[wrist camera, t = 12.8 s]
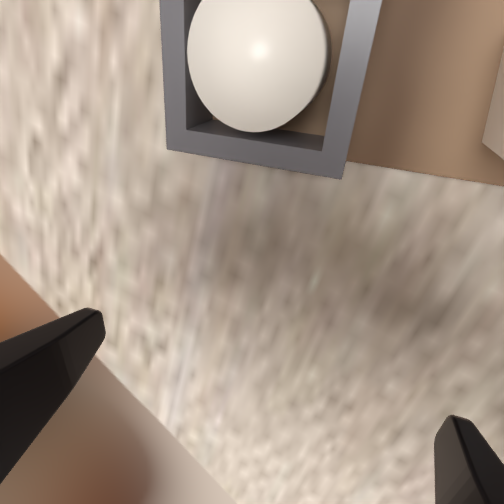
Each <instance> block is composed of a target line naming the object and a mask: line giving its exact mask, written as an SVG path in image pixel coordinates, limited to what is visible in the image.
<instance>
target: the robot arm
mask: <svg viewBox="0 0 504 504" xmlns="http://www.w3.org/2000/svg"><path fill="white" fill-rule="evenodd" d="M105 334H106V331H105V326H104V321H103V316H102V313H101V312H100V311H99V310H95V309H92V308H84V309H81V310H79V311H76V312H74V313H71V314H69V315H66V316H64V317H61V318H59V319H57V320H54V321H52V322H49V323H47V324H44V325H42V326H39V327H37V328H35V329H32V330H30V331H27V332H25V333H22V334H20V335H17V336H15V337H13V338H10V339H8V340H5V341H3V342H0V484H1V483H2V481H3V480H4V479H5V477H6V476H7V475H8V473H9V472H10V471H11V469H12V468H13V467H14V466H15V464H16V463H17V462H18V460H19V459H20V458H21V456H22V455H23V454H24V452H25V451H26V450H27V449H28V447H29V446H30V445H31V443H32V442H33V441H34V439H35V438H36V437H37V435H38V434H39V432H41V430H42V429H43V428H44V426H45V425H46V424H47V422H48V421H49V420H50V418H51V417H52V416H53V414H54V413H55V412H56V411H57V409H58V408H59V407H60V405H61V404H62V403H63V402H64V400H65V399H66V398H67V396H68V395H69V394H70V392H71V391H72V389H73V388H74V387H75V385H76V384H77V382H78V381H79V379H80V377H81V376H82V374H83V373H84V371H85V369H86V368H87V366H88V365H89V363H90V361H91V360H92V358H93V357H94V355H95V353H96V352H97V350H98V349H99V347H100V345H101V344H102V342H103V340H104V338H105ZM434 462H435V504H504V464H503V463H502V462H501V460H500V459H499V458H498V456H497V455H496V454H495V452H494V451H493V449H492V448H491V447H490V445H489V444H488V443H487V441H486V440H485V439H484V437H483V436H482V435H481V433H480V432H479V430H478V429H477V428H476V426H475V425H474V424H473V423H472V422H471V421H470V420H468V419H465V418H462V417H459V416H455V415H450V416H448V417H447V418H446V420H445V421H444V423H443V425H442V426H441V428H440V429H439V431H438V432H437V434H436V436H435V441H434Z"/></svg>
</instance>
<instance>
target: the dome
mask: <svg viewBox="0 0 504 504" xmlns="http://www.w3.org/2000/svg"><path fill="white" fill-rule="evenodd" d="M187 56H188V66H189V72H190V75H191V79H192V82H193V85H194V87H195V90H196V92H197V94H198V96H199V98H200V99H201V101H202V102H203V104H204V105H205V106H206V108H207V109H208V110H209V111H210V112H211V113H212V114H213V115H214V116H215V117H216V118H217V119H219V120H220V121H221V122H223V123H224V124H226V125H228V126H230V127H232V128H235V129H238V130H241V131H246V132H263V131H268V130H272V129H274V128H277V127H279V126H281V125H283V124H285V123H287V122H288V121H289V120H291V119H292V118H293V117H295V116H296V115H297V114H298V113H300V112H301V111H302V110H303V109H305V108H306V107H307V106H308V105H309V104H310V103H311V102H312V101H313V100H314V99H315V98H316V97H317V95H318V94H319V92H320V91H321V89H322V88H323V86H324V84H325V82H326V79H327V76H328V73H329V70H330V65H331V58H332V43H331V36H330V31H329V28H328V25H327V22H326V20H325V18H324V16H323V14H322V12H321V11H320V10H319V8H318V7H317V5H316V4H315V3H314V2H313V1H312V0H202V1H201V2H200V4H199V6H198V8H197V10H196V12H195V14H194V17H193V20H192V22H191V26H190V30H189V36H188V45H187Z"/></svg>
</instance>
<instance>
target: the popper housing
mask: <svg viewBox="0 0 504 504" xmlns="http://www.w3.org/2000/svg"><path fill="white" fill-rule="evenodd" d="M201 1H202V0H160V21H161V41H162V61H163V81H164V102H165V122H166V142H167V149H168V150H173V151H179V152H185V153H191V154H197V155H202V156H208V157H214V158H220V159H225V160H231V161H237V162H243V163H249V164H254V165H260V166H266V167H272V168H278V169H283V170H289V171H295V172H301V173H306V174H312V175H318V176H324V177H330V178H335V179H342V175H343V171H344V166H345V162H346V158H347V153H348V149H349V145H350V140H351V136H352V131H353V127H354V123H355V118H356V114H357V110H358V105H359V101H360V96H361V92H362V88H363V83H364V79H365V74H366V70H367V66H368V61H369V57H370V53H371V48H372V44H373V39H374V35H375V31H376V26H377V22H378V17H379V13H380V9H381V4H382V0H350V4H349V10H348V15H347V20H346V26H345V31H344V36H343V42H342V47H341V52H340V57H339V63H338V68H337V73H336V79H335V84H334V89H333V95H332V100H331V105H330V111H329V116H328V121H327V127H326V132H325V136H322V135H315V134H308V133H302V132H295V131H288V130H281V129H275V128H274V129H272V130H268V131H263V132H246V131H241V130H238V129H235V128H232V127H230V126H228V125H226V124H224V123H223V122H221V121H220V120H214V119H213V114H212V113H211V112H210V111H209V110H208V109H207V108H206V106H205V105H204V104H203V102H202V101H201V99H200V98H199V96H198V94H197V92H196V90H195V87H194V85H193V82H192V79H191V75H190V72H189V66H188V56H187V45H188V36H189V30H190V26H191V22H192V20H193V17H194V14H195V12H196V10H197V8H198V6H199V4H200V2H201Z"/></svg>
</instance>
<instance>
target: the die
mask: <svg viewBox="0 0 504 504" xmlns="http://www.w3.org/2000/svg"><path fill="white" fill-rule="evenodd" d="M482 143H483V144H485V145H486V146H487V147H488V148H490V149H491V150H492V151H493V152H495V153H496V154H497V155H498V156H500V157H501V158H502V159H503V160H504V49H503V53H502V57H501V61H500V66H499V70H498V74H497V79H496V83H495V87H494V92H493V96H492V100H491V105H490V109H489V113H488V118H487V122H486V126H485V131H484V135H483V139H482Z"/></svg>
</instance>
